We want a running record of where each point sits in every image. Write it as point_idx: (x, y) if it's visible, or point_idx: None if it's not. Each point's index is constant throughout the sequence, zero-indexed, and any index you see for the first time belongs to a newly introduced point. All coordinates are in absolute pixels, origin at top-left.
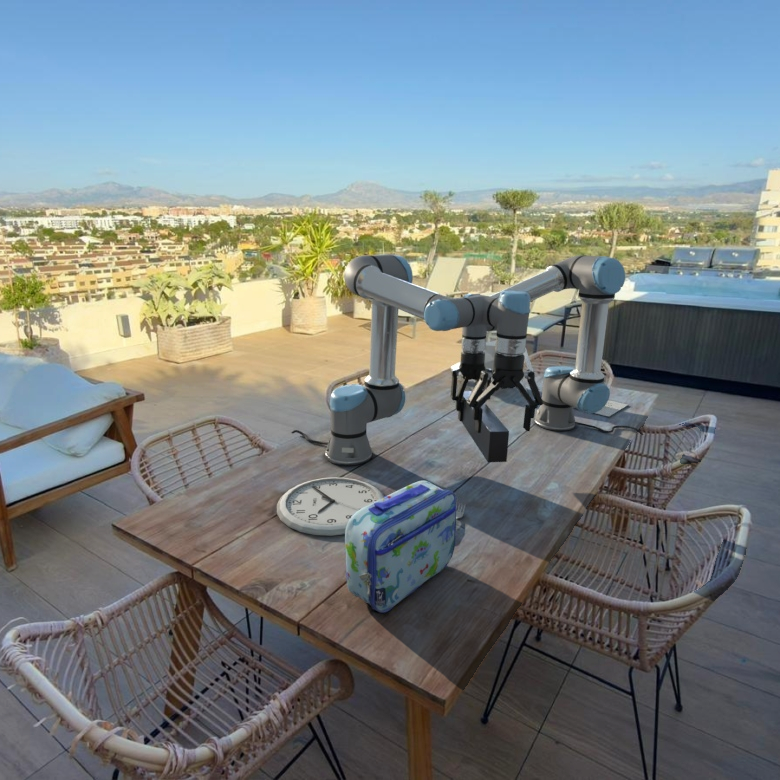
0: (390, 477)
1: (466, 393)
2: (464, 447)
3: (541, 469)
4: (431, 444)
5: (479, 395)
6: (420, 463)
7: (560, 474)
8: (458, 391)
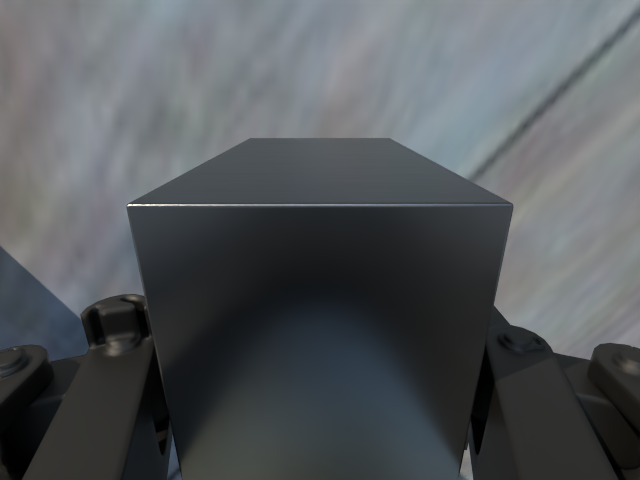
0: (6, 346)
1: (266, 352)
2: (331, 86)
3: (567, 323)
4: (157, 28)
5: (483, 440)
6: (107, 249)
7: None
8: (45, 476)
